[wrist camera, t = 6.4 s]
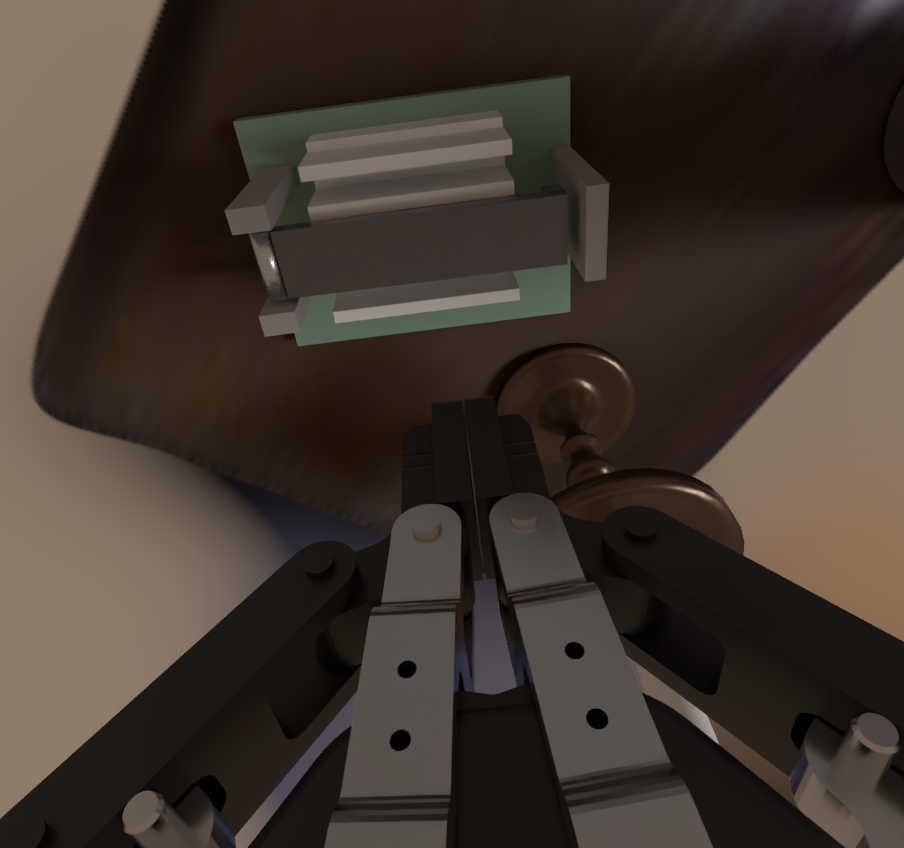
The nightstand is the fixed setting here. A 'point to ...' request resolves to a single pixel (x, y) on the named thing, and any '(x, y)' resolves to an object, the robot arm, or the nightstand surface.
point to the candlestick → (594, 477)
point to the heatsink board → (421, 197)
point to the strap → (414, 245)
